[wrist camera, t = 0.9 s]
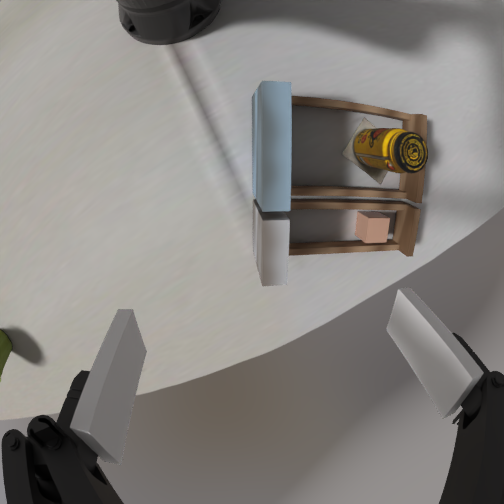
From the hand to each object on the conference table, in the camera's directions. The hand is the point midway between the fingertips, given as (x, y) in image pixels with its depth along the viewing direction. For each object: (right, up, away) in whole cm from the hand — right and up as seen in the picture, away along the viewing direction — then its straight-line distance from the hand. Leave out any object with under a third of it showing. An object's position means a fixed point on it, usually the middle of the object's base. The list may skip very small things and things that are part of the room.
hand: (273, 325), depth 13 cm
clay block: (+18, +8, +31) cm, 36 cm away
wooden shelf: (+12, +19, +25) cm, 34 cm away
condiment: (+18, +19, +26) cm, 37 cm away
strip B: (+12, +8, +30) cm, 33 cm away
